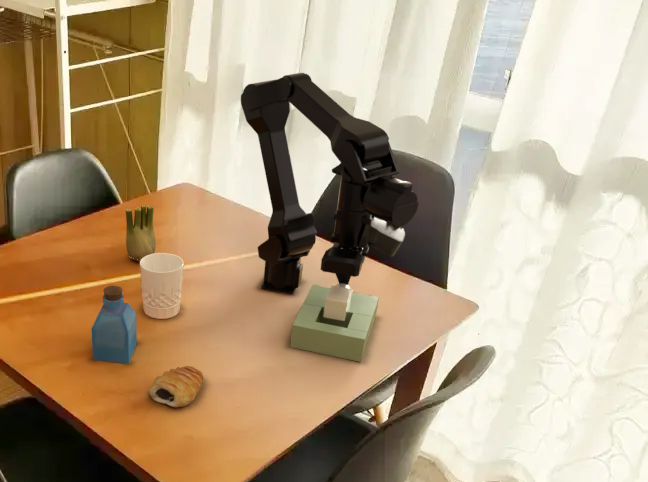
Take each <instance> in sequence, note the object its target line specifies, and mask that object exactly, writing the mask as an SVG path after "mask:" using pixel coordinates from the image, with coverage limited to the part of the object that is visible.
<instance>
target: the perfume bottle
mask: <svg viewBox="0 0 648 482" xmlns="http://www.w3.org/2000/svg"><path fill="white" fill-rule="evenodd" d="M102 291H103V292H102V293H103V295H102V306H101V308H100V309H99V312H98V313H97V316H96V318H95V320H94V322H93V324H92V326H91V329H90V331H91V333H90V334H91V347H92V348H91V349H92V360H93V361H100V362H108V363H116V364H117V363H118V364H119V363H120V364H127V365H129V364H130V363H131V360H132V357H133V354H134V352H135V350H136V347H137V345H138V335H137V334H138V333H137V312H136V310H134V308H133V307H132V306H131V304H130V303H128V302H125V295H124V294H123V288H122V287H121V286H119V285H108V286H106V287H104V288H103V290H102Z"/></svg>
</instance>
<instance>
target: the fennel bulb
mask: <svg viewBox="0 0 648 482" xmlns="http://www.w3.org/2000/svg"><path fill="white" fill-rule="evenodd" d="M154 208H155V207H154V206H152V205H147V206H146V205H144V204H141V205H140V207H139V206H138V207H135V208H134V214H133V210H132V209H131V208H126V209H125V219H126V220H125V221H126V228H125V229H126V234H125V235H126V236H125V246H126V251H127V255H128V257H129V256H130V257H132V258H130V257H129V259H130V260H131V261H135V262H138V263H140V260H141V259H142V258H143V257H145V256H147V255H150V254H154V253H156V244H157V243H156V235H155V229H154ZM133 215H134V216H133ZM133 258H134V259H133ZM137 259H138V260H137Z"/></svg>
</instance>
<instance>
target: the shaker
mask: <svg viewBox="0 0 648 482" xmlns="http://www.w3.org/2000/svg"><path fill="white" fill-rule="evenodd" d="M329 288H330V290H329V293H328V295H327V297H326V300H325V308H324V316H323V317H326V318H331V319H336V320H341V321H345V318H346V315H347V313H348V310H349V307H350V302H351V296H352V292H353V288H352V287H350V285H349V284H348V285H346V284H343V283H340V284H339V283H338V284H336V285H331V286H330V287H329Z"/></svg>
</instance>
